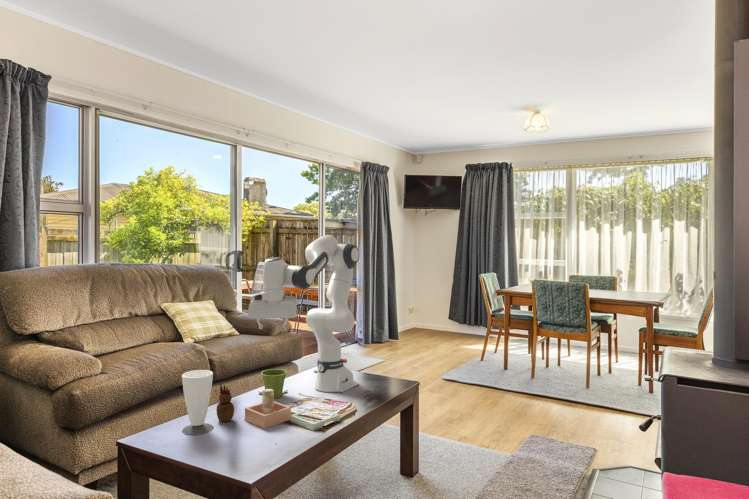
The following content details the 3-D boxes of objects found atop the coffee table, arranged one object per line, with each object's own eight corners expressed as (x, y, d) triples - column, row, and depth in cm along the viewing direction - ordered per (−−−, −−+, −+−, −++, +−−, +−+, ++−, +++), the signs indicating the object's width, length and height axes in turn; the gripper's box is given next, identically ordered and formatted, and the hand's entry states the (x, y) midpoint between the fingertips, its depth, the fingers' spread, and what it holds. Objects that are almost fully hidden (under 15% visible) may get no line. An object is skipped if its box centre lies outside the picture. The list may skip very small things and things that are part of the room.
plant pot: (292, 395, 232) (292, 371, 231) (271, 402, 223) (272, 377, 222) (276, 390, 239) (276, 367, 239) (255, 396, 230) (255, 372, 230)
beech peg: (268, 417, 205) (269, 388, 204) (275, 419, 202) (275, 390, 201) (259, 420, 201) (259, 390, 201) (266, 422, 198) (266, 393, 198)
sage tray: (316, 412, 210) (316, 406, 210) (339, 420, 201) (339, 414, 201) (290, 421, 200) (290, 415, 200) (313, 430, 191) (313, 424, 191)
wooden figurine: (213, 422, 199) (213, 384, 198) (222, 417, 204) (222, 380, 204) (227, 424, 196) (227, 386, 196) (236, 419, 202) (236, 382, 201)
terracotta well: (271, 411, 210) (271, 400, 210) (290, 419, 202) (290, 407, 202) (244, 420, 201) (244, 408, 201) (264, 428, 192) (264, 416, 192)
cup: (175, 432, 188) (174, 375, 187) (196, 421, 199) (196, 368, 198) (199, 437, 184) (199, 379, 183) (219, 426, 194) (219, 371, 194)
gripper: (297, 295, 214) (296, 327, 214) (249, 294, 211) (248, 327, 211) (298, 296, 208) (297, 329, 208) (247, 296, 204) (247, 330, 204)
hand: (272, 328), depth 209 cm, fingers open, 8 cm apart
